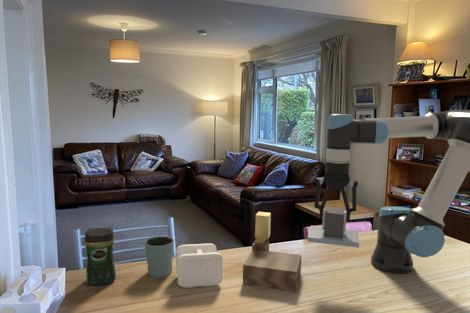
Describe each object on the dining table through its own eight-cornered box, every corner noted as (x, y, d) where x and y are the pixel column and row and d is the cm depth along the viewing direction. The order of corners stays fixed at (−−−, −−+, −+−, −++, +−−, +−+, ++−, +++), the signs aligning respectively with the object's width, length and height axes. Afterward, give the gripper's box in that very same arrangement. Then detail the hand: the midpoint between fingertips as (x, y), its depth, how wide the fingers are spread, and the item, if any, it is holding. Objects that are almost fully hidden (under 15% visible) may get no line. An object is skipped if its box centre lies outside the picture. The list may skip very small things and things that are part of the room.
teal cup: (179, 270, 139) (179, 238, 137) (162, 281, 130) (162, 247, 128) (156, 264, 143) (156, 234, 142) (139, 275, 134) (138, 242, 133)
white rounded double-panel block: (218, 273, 137) (218, 242, 135) (222, 287, 127) (223, 253, 125) (176, 276, 134) (176, 244, 132) (177, 290, 124) (177, 256, 122)
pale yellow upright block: (270, 237, 150) (270, 212, 149) (266, 244, 142) (266, 218, 141) (257, 236, 151) (258, 211, 150) (253, 243, 144) (253, 217, 142)
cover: (357, 234, 131) (359, 207, 129) (359, 247, 118) (360, 218, 117) (310, 229, 135) (312, 203, 134) (307, 241, 123) (308, 213, 121)
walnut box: (302, 264, 146) (303, 243, 144) (295, 292, 124) (296, 267, 123) (256, 258, 151) (256, 238, 150) (241, 284, 129) (241, 260, 128)
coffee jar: (116, 274, 134) (115, 224, 132) (114, 284, 127) (113, 231, 124) (87, 276, 132) (85, 225, 130) (84, 287, 124) (82, 233, 122)
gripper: (367, 161, 124) (363, 229, 127) (309, 158, 129) (306, 223, 132) (369, 164, 117) (364, 236, 120) (307, 161, 122) (303, 230, 125)
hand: (333, 229), depth 126 cm, fingers closed on cover, 6 cm apart
